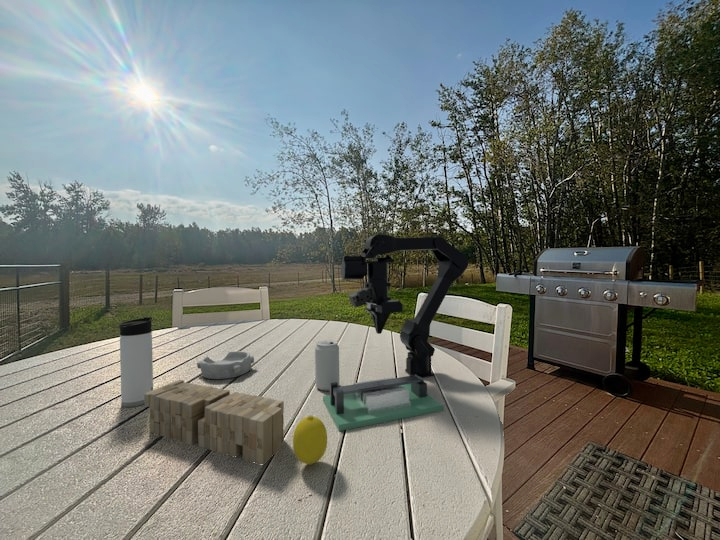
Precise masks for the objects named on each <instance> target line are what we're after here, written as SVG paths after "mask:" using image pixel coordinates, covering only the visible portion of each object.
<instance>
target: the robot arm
mask: <svg viewBox="0 0 720 540" xmlns="http://www.w3.org/2000/svg"><path fill="white" fill-rule="evenodd" d="M425 250H426V251H427V250H429V251H431V253H432V254H433V256H434V258H435V259H436V260H437V261H438V263H439V264H438V267H437V276H436V278H435V281H434V282H433V284H432V286H431V288H430V289H429V291H428V293H427V294H426V295H427V296H426V297H425V298H424V300H423V302H422V304H421V306H420V308H419V309H418V311H417V314H416V315H415V317H413V318H412V319H408V318H406V320H405V321H404V324H403V325H402V327H401V328H400V330H399V331H400V333H399V339H400V342H401V343H402V344H403V345H404V347H405V349H406V350H407V357H406V359H405V362H406V365H405V367H406V368H405V370H404V371H405V372H406V373H407V374H409V376H412V375H415V374H417V375H418V376H420V377H421V378H423V377H424V378H425V377H431V376H435V373H434V371H432V357H433V356H434V353H435V350H436V349H435V347H434V346H432V344H431V343H430V342H428V341H429V337H430V335H431V333H430V331H431V323H432V322H433V320H434V318H435V316H436V314H437V313H438V311H439V308H440V307H441V305H442V303H443V301H444V299H445V298H446V296H447V294H448V292H449V290H450V288H451V287H452V284H453V283H454V282H455V281H457V280H458V279H459V278H460V277H461V276H463V274H464V273H465V271H467V269H468V268H469V265H470V264H469V263H470V262H469V260H468V257H467V255H466V254H465V253H463V252H461V251H460V250H459V249H458V248H456V247H455V246H453V245H452V244H451V243H450V242H448V241H447V240H445V238H444V237H442V236H440V235H437V236H425V237H418V236H417V237H397V236H394V235H389V234H382V233H381V234H380V233H379V234H376V235H373V236H370V237H368V238H367V239H366V241H365V243H364V249H363V250H362V252H361V253H360V254H359V255H358V256H357V255H356V256H353V255H352V256H351V255H342V261H341V267H340V277H341V279H342V281H357V280H364V277H367V282H365V283H364V288H362V289H358V290H356V291H354V292H352V293H350V294H348V299H349V302H350V303H351V306H352V307H355V308H358V307H362V306H363V305H366V307H365V308H364V310H365V311H366V312H367V313H368V314H370V316H371V319H372V323H373V325H374V328H375V331H376V334H378V335H380V334H382V332H383V330H384V328H385V326H386V324H387V321H388V319H389V317H390V316H391V314H393V313H399V312H400V313H401V312H404V304H403V302H401V300H396V299H392V297H391V296H389V287H391V285H392V283H391V282H389V278H388V276H389V272H388V270H389V268H388V266H389V265H388V263H389V264H393V263H395V259H394V258H393V257H391V256H390V254H391V253H395V252H399V251H401V252H402V251H404V252H405V251H425ZM381 255H384V257H383V256H382V257H379V256H381ZM369 259H371V261H370V260H369ZM372 259H373V260H372ZM366 260H369V261H366Z"/></svg>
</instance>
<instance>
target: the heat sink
mask: <svg viewBox="0 0 720 540" xmlns="http://www.w3.org/2000/svg"><path fill="white" fill-rule="evenodd" d="M386 379H393V376H392V377H386V378H385V377H384V378H378V379H372V380H366V381H365V380H364V381H357V382H354V383H353V384H360V383H367V382H373V381H380V380H386ZM334 387H339V386H338V383H337V382H334V383H330V391H329V395H330V404H331V405H335V413H336V414H343V413H344V391H343V390H338V391H335V396H334V394H333V388H334ZM411 392H413V393H414V394H415V395H416V396H418V397H419V398H422V397H427V394H428V383H427V382H425V381H424V382H422V383H421V382H418V383H411ZM353 395H354V396H355V398H356V399H357V400H358V402H359V403H360V404H361V405H362V407H363V408H364V409H365V410H366V412H367V413H368V414H372V413H377V412H383V411H388V410H393V409H399V408H404V407H410V406H411V402H410V401H409V390H405V387H404V386H402V387H401V385H399V386H393V387H387V388H381V389H374V390H368V391H362V392H356V393H353Z"/></svg>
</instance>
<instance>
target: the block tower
mask: <svg viewBox="0 0 720 540" xmlns="http://www.w3.org/2000/svg"><path fill="white" fill-rule="evenodd" d="M144 402H145V404H144V406H145V407H148V408H149V425H148V426H149V430H148V432H149V433H152V434H154V435H156V436H161V437H165V438H168V439H172V440H173V441H174V440H175V441H177V442H182V443H185V444H187V445H189V446H191V445H194V444H196V443H197V445H198V447H199V448H202V449H206V450H210V451H212V452H215V451H216V452H217V451H218V452H217V453H220V452H221V453H220V454H223V453H224V454H223V455H225V454H228V455H227V456H229V455H231V456H234V457H233V458H236V457H235V456H237V455H238V454H239V455H240V453H241V454H242V460H243V459H244V460H243V461H245V460H248V461H247V462H249V461H251V462H250V463H252V462H255V463H254V464H256V463H257V464H264V463H265V462H266V461H268V460H269V459H270V458H271V457H272V458H273V456H272V455H274V456H276V455H277V454H278V453H279V452H280V451H281V450H282V441H284V437H285V436H284V432H285V431H284V426H285V425H284V419H285V418H284V412H285V411H284V409H285V407H284V404H285V403H284V400H279V399H275V398H274V399H273V398H270V397H267V396H266V397H264V396H259V395H252V394H250V393H249V394H248V393H245V392H244V393H243V392H238V391H235V392H233V393H231V390H230V389H223V388H218V387H214V386H210V385H209V386H208V385H200V384H196V383H192V382H189V383H188V382H185V380H182V379H178V380H177V379H176V380H175V381H173V382H170V383H168V384H166V385H163V386H160V387H157V388H156V389H153V390H152V391H150V392H147V393H145V394H144ZM280 449H281V450H280ZM279 450H280V451H279ZM278 451H279V452H278ZM277 452H278V453H277ZM276 453H277V454H276ZM239 455H238V456H239ZM231 456H230V457H231ZM238 456H237V457H238ZM272 458H271V459H272ZM271 459H270V460H271ZM270 460H269V461H270ZM269 461H268V462H269ZM257 464H256V465H257Z"/></svg>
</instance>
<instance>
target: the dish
mask: <svg viewBox="0 0 720 540" xmlns="http://www.w3.org/2000/svg"><path fill="white" fill-rule="evenodd" d="M254 362H255V357H254V355H251V354H250V353H249V352H247V351H242V350H241V351H239V350H237V351H234V350H233V351H229V352H228V353H227V354H226V356H225V357H223V359H221V360H217V361H214V360H213V359H211V358H210V357H209V356H205V357H204V358H201V359H200V360H197V361H196V366H197V369H200V371H201V372H200V373H201V375H202V377H203V378H205V379H210V380H223V379H231V378H235V377H241V376H243V375H244V374H246V373H248V372H249V371H250V370H251V369H252V364H254Z"/></svg>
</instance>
